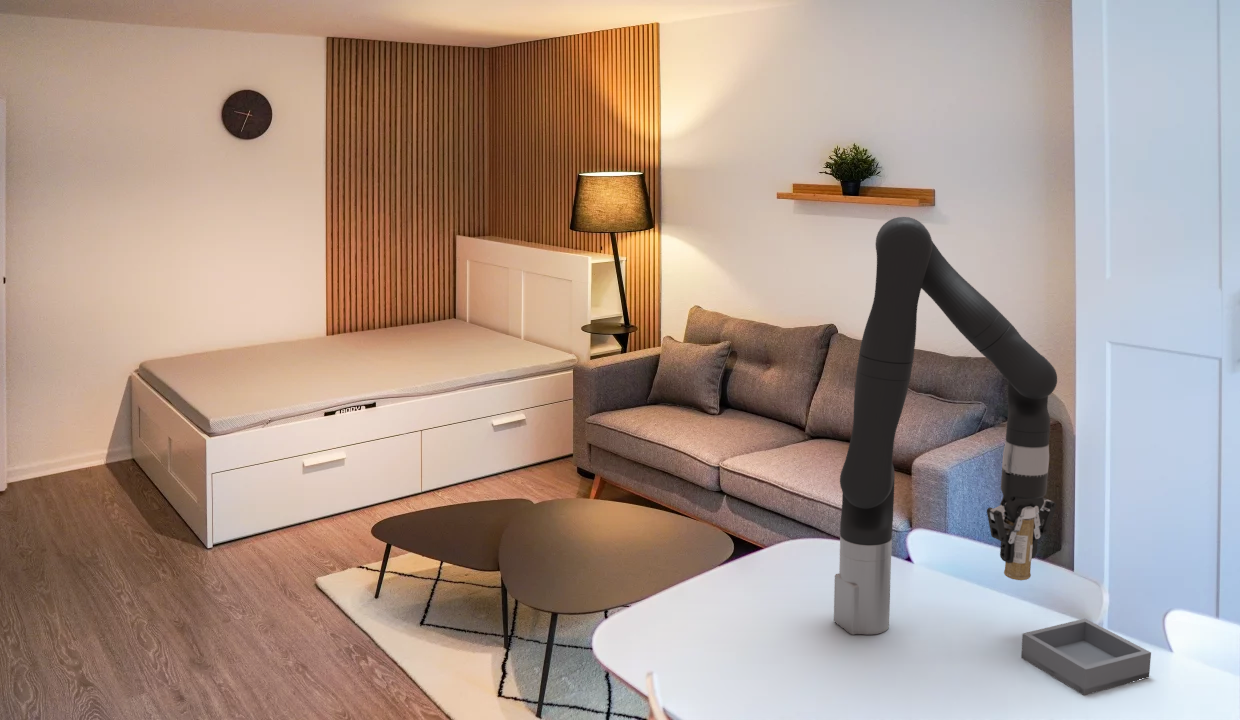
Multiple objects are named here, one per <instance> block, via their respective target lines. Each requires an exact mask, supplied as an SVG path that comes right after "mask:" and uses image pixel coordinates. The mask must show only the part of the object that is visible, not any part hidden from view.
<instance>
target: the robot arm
mask: <svg viewBox="0 0 1240 720" xmlns="http://www.w3.org/2000/svg"><path fill="white" fill-rule="evenodd" d="M875 250H876V251H875V252H876V270H875V271H876V272H875V273H876V275H875V289H874V297H873V302H872V306H871V309H870V312H869V314H868V318H867V321H866V324H865V328H864V331H863V334H862V338H861V343H860V348H859V354H858V359H857V366H856V374H855V385H854V397H853V417H852V418H853V420H852V422H853V423H852V430H851V437H850V439H849V440H850V441H849V444H848V448H847V453H846V457H845V459H844V460H845V461H844V462H843V466H842V469H841V472H840V476H839V485H840V489H841V492H842V496H841V497H842V498H841V499H842V500H841V501H842V502H841V503H842V504H841V513H840V515H841V516H840V521H839V522H840V525H839V531H840V532H839V535H840V536H839V537H840V538H839V567H838V568H839V572H838V573H836V574H835V575H834V592H833V593H834V595H833V596H834V598H833V622H834V621H835V622H836V623H837V625H838V624H839V625H840V626H839V625H838V626H839V627H841V628H842V629H843V628H844V631H846V632H847V633H849V634H850V635H867V636H868V635H870V636H871V635H877V634H881V633H884V632H886V631H887V630H888V629H889V628H890V616H891V615H890V611H891V610H890V609H891V608H890V607H891V605H890V604H891V575H892V572H891V571H892V548H893V547H892V545H893V544H892V543H893V542H892V540H893V523H894V503H895V499H894V498H895V479H896V478H895V477H896V476H895V473H896V472H895V467H894V464H893V455H894V446H895V445H894V444H895V437H896V433H897V428H898V425H899V422H900V419H901V416H902V412H903V408H904V406H905V402H906V397H907V393H908V391H909V385H910V383H911V382H910V381H911V376H912V369H913V364H914V355H915V349H916V347H915V346H916V340H917V338H916V335H917V314H918V305H919V300H920V299H919V298H920V295H921V291H922V290H923V292H924V293H925V294H926V295H928V297H929V298H931V300H932V301H933V302H934V303H935V304H936V305H937V306H938V308H939V309H940V310H941V311H942V312H943V314H944V315H945V316H946V317H947V319H948V320H949V321H950V322H951V323H952V325H953V326H954V327H955V328H956V329H957V330H958V331H959V333H961V335H962V336H963V337H964V338H965V339H966V340H967V341H968V342H969V343H970V344H971V345H972V346H974V347H975V349H976V350H977V351H978V352H979V353H980V354H981V355H983V357H985V358H986V359H987V360H989V361H990V362H991V363H992V364H993V365H994V366H995V368H996V369H997V370H998V371H999V372H1000V373H1001V374H1002V375H1003V377H1004V378H1005V380H1007V404H1008V412H1007V420H1006V431H1005V443H1004V448H1003V453H1002V467H1001V475H1000V490H1001V493H1002V499H1001V501H1000V504H999V505H998V506H997V507H995V508H993V507H987V509H986V514H987V521H988V525H989V530H990V536H991V537H992V538H993V539H996V540H998V541H1000V551H999V552H1000V553H999V556H1000V559H1001V560H1002V561H1003V562H1007V563H1012V562H1013V557H1014V543H1013V542H1014V539H1015V536H1016V533H1017V532H1019V531H1020V528H1021V525H1022V522H1023V521H1022V520H1023V519H1022V517H1024V515H1025V510H1026V509H1027V508H1025V507H1027V506H1032V507H1033V508H1035V514H1036V516H1035V517H1034V528H1033V542H1032V544H1033V548H1032V559H1035V558H1036V556H1037V553H1038V545H1039V544H1038V541H1039V539H1040V537H1041V536H1042V535H1047V534H1049V531H1050V529H1051V524H1052V521H1053V518H1054V515H1055V512H1056V509H1057V506H1058V505H1057V502H1055V501H1053V500H1050V499H1047V498H1045V496H1046V495H1047V491H1048V488H1047V487H1048V476H1049V475H1048V474H1049V463H1050V447H1049V446H1050V436H1051V416H1050V413H1049V410H1048V400H1049V396H1050V395H1051V394H1052V393H1053V392H1054V390H1055V389H1056V387H1057V383H1058V375H1057V371H1056V369H1055V367H1054V365H1052V363H1051V362H1049V361H1048V359H1047V358H1046V357H1045V356H1044V355H1042V354H1041V353H1039V352H1038V350H1036V349H1035V347H1033V346H1032V345H1031V344H1030V343H1029V342H1028V341H1027V340H1025V338H1023V337H1022V335H1021V334H1020V332H1019V331H1018V330H1017V329H1016V328H1015V327H1016V326H1015V327H1014V325H1013V324H1012V323H1011V322H1010V321H1009V319H1008V318H1007V317H1005V316H1004V315H1003V313H1001V311H1000V310H998V308H996V307H995V306H994V304H993V303H991V302H990V301H989V300H988V299H987V298H986V297H985V296H983V294H981V292H979V291H978V290H977V289H976V288H974V286H972V285H971V283H969V282H968V281H967V280H966V279H965V278H964V277H963V276H962V275H961V274H960V273H959V272H958V271H957V270H956V269H955V268H954V266H952V265H951V264H950V263H949V261H948V260H947V259H946V258H945V257H944V255H943V254H942V253H941V252H940V250H939V248H938V247H937V245H936V244H935V243H934V241H933V239H932V236H931V233H930V232H929V230H928V229H927V228H926V226H925V225H924V224H923V223H922V222H920V221H919V220H917V219H915V218H913V217H909V216H898V217H895V218H894V217H893V218H891V219H890V220H887V221H886V222H885V223H884V224H883V225H882V226H881V227H880V228H879V230H878V232H877V234H876V237H875ZM1009 521H1010V522H1012V523H1014V525H1011V524H1009ZM1042 524H1043V525H1042ZM1008 530H1010V532H1009V535H1007V533H1008ZM835 622H834V623H835ZM836 623H835V624H836Z"/></svg>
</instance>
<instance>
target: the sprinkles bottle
mask: <svg viewBox="0 0 1240 720" xmlns="http://www.w3.org/2000/svg"><path fill="white" fill-rule="evenodd" d="M1025 508H1027V509H1026V510H1025V515H1024V517H1022V519H1023V520H1022V521H1023V522H1022V525H1021V528H1020V531H1019V532H1017V533H1016V536H1015V539H1014V542H1013V543H1014V557H1013V562H1012V563H1007V562H1005V561H1004V562H1005V564H1004V571H1003V574H1004V576H1006V577H1007V578H1008V579H1011V580H1016V581H1027V580H1029V579H1030V578H1031V576H1032V574H1031V567H1032V548H1033V544H1032V542H1033V528H1034V517H1035V516H1036V514H1035V508H1033V507H1032V506H1027V507H1025ZM1009 524H1011V525H1014V523H1012V522H1010V521H1009ZM1009 532H1010V530H1008V533H1007V535H1009Z"/></svg>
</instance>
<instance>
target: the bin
mask: <svg viewBox="0 0 1240 720" xmlns="http://www.w3.org/2000/svg"><path fill="white" fill-rule="evenodd" d="M1021 635H1022V636H1021V653H1020V657H1021V659H1023V660H1024V661H1026V662H1028V663H1030V664H1031V665H1033V666H1035V667H1036V668H1038V669H1040V670H1041V671H1042V672H1044V673H1046V674H1047V675H1049V676H1051V677H1053V678H1054V679H1056V680H1058V681H1059V682H1061V683H1063V684H1064V685H1065V686H1068V687H1070V688H1071V689H1073V690H1074V691H1076V692H1077V693H1080V694H1081V695H1082V696H1086V695H1091V694H1095V693H1098V692H1101V691H1106V690H1108V689H1112V688H1117V687H1120V686H1125V685H1127V683H1128V684H1130V682H1131V683H1134V682H1133V681H1135V682H1138V681H1137V680H1139V679H1142V678H1146V677H1149V678H1150V671H1151V658H1152V657H1151V656H1152V652H1151V651H1149V650H1147V649H1146V648H1143V647H1142V646H1140V645H1137V644H1136V643H1134V642H1132V641H1130V640H1129V639H1126V638H1124V637H1122V636H1120V635H1118V634H1116V633H1114V632H1112V631H1110V630H1108V629H1106V628H1104V627H1103V626H1100V625H1099V624H1097V623H1094V622H1093V621H1091V620H1089V619H1087V618H1082V619H1078V620H1073V621H1069V622H1065V623H1061V624H1056V625H1051V626H1049V627H1044V628H1040V629H1039V628H1038V629H1036V630H1032V631H1026V632H1023V633H1021ZM1146 679H1147V678H1146ZM1142 680H1143V679H1142ZM1139 681H1140V680H1139Z"/></svg>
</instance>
